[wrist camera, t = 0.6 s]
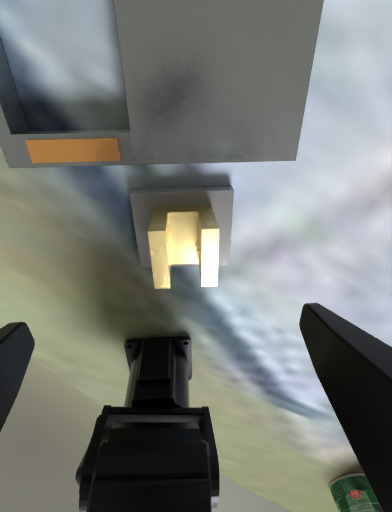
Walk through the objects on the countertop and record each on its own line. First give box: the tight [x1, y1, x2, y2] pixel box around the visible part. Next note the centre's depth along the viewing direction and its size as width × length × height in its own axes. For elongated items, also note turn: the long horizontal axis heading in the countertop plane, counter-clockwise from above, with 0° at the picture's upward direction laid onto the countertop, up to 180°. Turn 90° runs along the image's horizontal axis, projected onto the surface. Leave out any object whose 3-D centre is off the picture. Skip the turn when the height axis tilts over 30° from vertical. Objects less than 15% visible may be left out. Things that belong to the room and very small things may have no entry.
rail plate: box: [0, 0, 324, 168], centre depth 14 cm, size 10×17×2 cm, turn 91°
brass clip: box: [148, 205, 219, 289], centre depth 17 cm, size 4×4×4 cm
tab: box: [130, 186, 234, 268], centre depth 19 cm, size 6×7×1 cm
